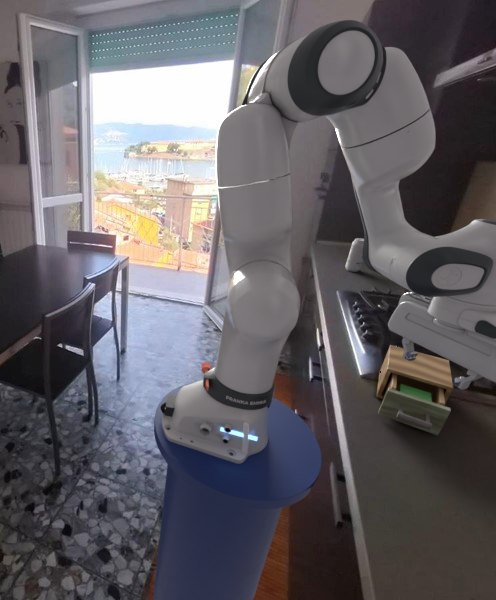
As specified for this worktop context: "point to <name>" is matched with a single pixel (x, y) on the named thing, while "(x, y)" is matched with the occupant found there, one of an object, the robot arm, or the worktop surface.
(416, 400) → the drawer
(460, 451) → the worktop surface
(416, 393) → the block
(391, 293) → the worktop surface
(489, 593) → the worktop surface
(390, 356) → the cabinet
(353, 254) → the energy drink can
